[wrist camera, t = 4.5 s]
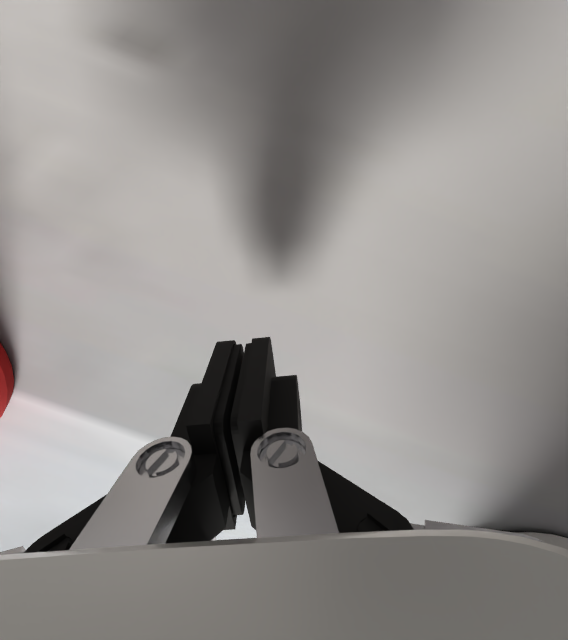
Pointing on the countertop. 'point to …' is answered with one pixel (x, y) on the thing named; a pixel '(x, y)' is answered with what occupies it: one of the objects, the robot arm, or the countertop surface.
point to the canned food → (5, 380)
